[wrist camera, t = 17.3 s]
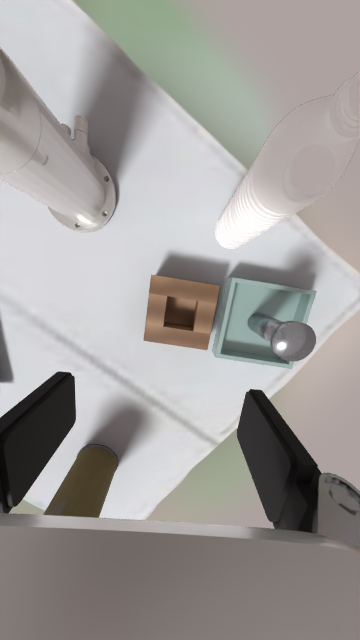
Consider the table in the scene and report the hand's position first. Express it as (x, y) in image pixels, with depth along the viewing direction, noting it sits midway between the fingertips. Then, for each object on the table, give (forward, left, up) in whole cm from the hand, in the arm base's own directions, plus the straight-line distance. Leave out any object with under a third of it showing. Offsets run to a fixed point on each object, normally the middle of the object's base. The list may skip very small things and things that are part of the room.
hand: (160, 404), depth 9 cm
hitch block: (-1, +1, -28) cm, 28 cm away
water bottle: (-16, +8, -28) cm, 33 cm away
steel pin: (-1, +17, -27) cm, 32 cm away
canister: (+41, -14, -28) cm, 52 cm away
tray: (-1, +17, -28) cm, 32 cm away
